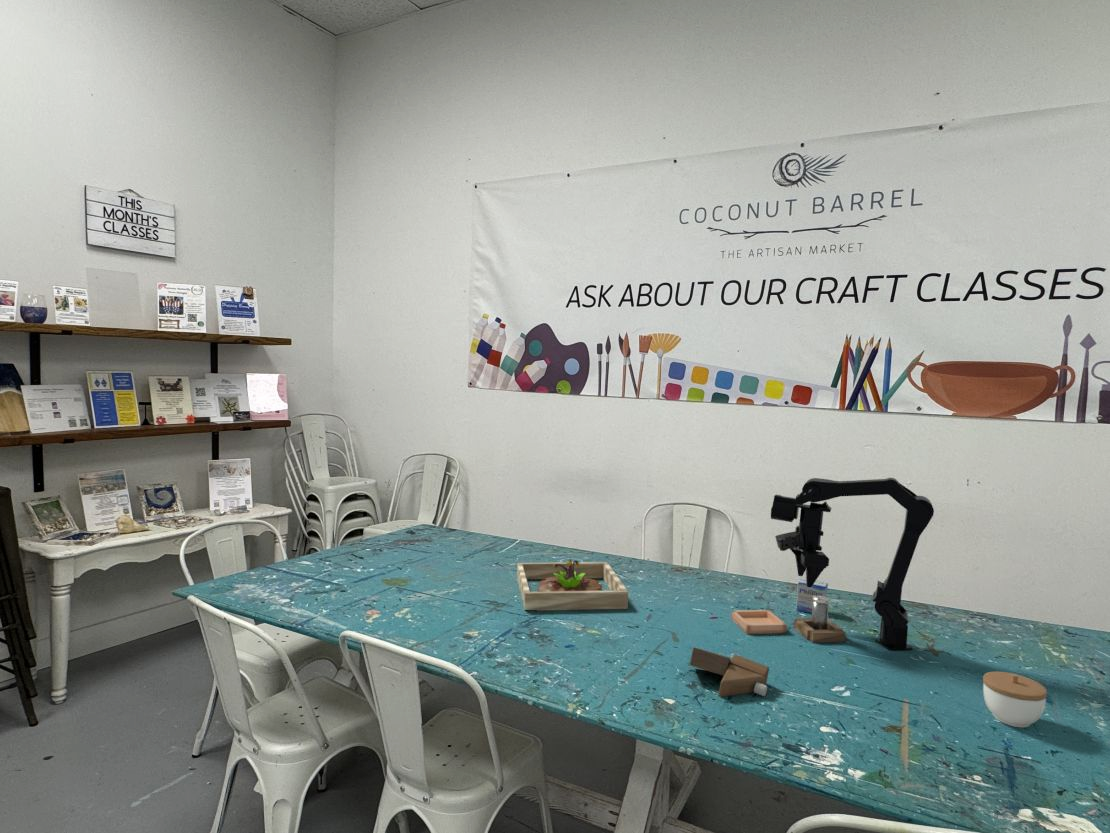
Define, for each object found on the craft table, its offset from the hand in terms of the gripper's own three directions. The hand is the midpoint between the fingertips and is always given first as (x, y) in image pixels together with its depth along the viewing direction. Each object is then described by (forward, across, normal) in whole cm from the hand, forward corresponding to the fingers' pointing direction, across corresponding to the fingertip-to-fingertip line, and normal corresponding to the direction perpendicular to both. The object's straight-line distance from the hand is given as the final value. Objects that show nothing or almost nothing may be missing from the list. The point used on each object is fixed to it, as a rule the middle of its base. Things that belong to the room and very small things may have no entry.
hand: (804, 581), depth 182 cm
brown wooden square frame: (+13, +4, +4) cm, 14 cm away
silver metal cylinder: (+13, +4, +4) cm, 14 cm away
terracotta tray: (+14, 0, -11) cm, 18 cm away
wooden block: (+14, +37, -25) cm, 47 cm away
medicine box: (+13, -14, +7) cm, 21 cm away
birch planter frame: (+16, -17, -65) cm, 69 cm away
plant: (+17, -17, -65) cm, 69 cm away
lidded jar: (+11, +43, +31) cm, 55 cm away
